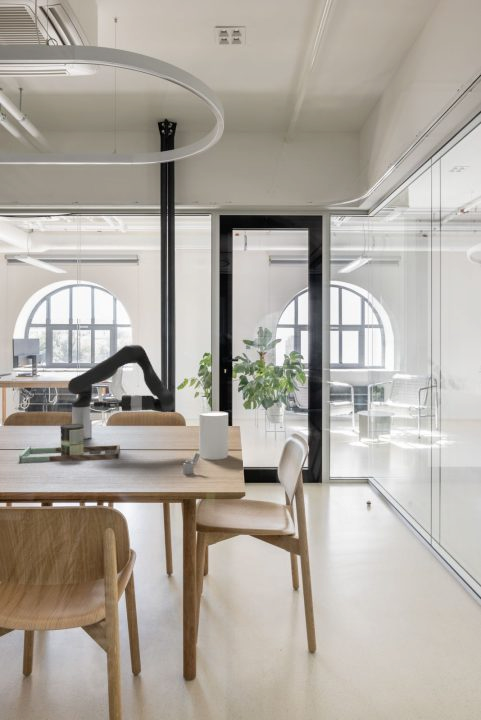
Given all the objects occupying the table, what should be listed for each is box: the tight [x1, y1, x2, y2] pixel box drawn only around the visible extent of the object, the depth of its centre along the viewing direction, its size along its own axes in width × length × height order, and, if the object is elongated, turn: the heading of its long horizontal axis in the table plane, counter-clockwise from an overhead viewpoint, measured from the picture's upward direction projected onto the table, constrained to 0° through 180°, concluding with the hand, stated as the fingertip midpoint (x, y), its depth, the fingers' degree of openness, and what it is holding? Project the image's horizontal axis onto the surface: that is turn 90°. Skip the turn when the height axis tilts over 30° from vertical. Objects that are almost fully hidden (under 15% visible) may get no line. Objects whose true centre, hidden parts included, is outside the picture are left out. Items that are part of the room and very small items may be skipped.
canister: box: [198, 410, 229, 461], centre depth 235 cm, size 14×14×20 cm
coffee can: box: [60, 423, 85, 456], centre depth 234 cm, size 10×10×14 cm
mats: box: [88, 450, 116, 454], centre depth 237 cm, size 12×14×1 cm
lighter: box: [182, 452, 200, 476], centre depth 206 cm, size 7×2×8 cm, turn 118°
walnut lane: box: [18, 444, 121, 463], centre depth 235 cm, size 42×18×2 cm, turn 102°
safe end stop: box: [18, 445, 57, 463], centre depth 232 cm, size 13×18×3 cm
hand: (94, 403), depth 236 cm, fingers closed
